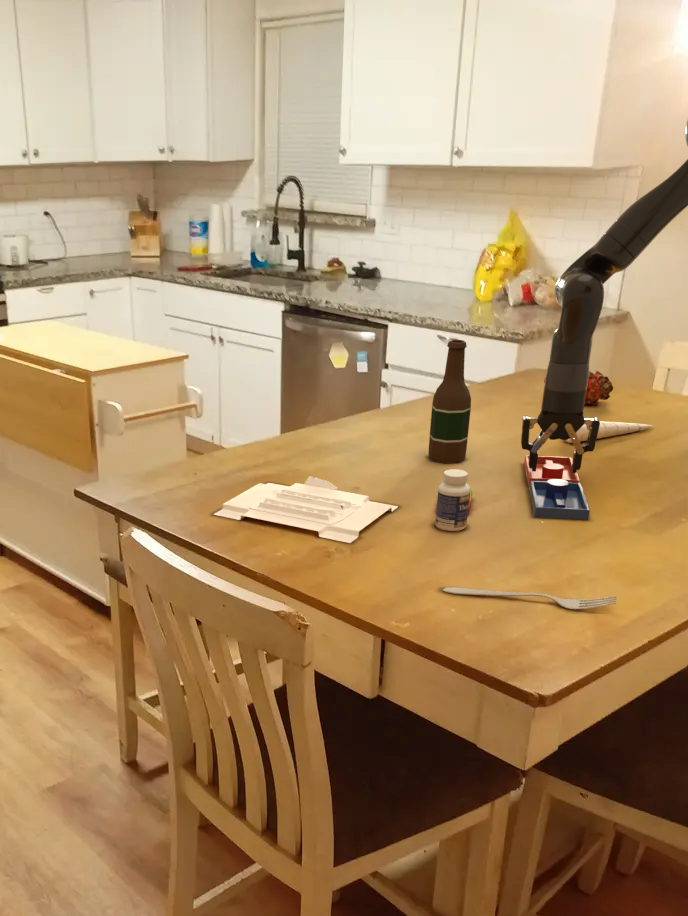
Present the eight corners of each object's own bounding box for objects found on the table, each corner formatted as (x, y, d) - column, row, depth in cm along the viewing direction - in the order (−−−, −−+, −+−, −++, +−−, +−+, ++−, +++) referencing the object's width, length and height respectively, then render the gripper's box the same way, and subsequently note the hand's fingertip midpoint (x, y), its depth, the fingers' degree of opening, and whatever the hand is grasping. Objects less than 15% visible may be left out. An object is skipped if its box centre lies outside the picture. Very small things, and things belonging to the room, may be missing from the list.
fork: (444, 585, 145) (445, 575, 144) (614, 605, 137) (616, 594, 136) (441, 594, 142) (442, 583, 141) (615, 615, 135) (617, 604, 134)
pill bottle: (461, 534, 163) (467, 479, 158) (430, 529, 165) (435, 475, 160) (470, 523, 167) (476, 470, 162) (440, 518, 169) (445, 466, 165)
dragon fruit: (612, 413, 231) (561, 414, 238) (618, 386, 235) (567, 388, 241) (609, 389, 225) (556, 391, 231) (615, 362, 228) (563, 365, 234)
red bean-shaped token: (562, 483, 182) (564, 469, 181) (541, 482, 183) (543, 468, 182) (557, 467, 191) (559, 453, 190) (537, 466, 192) (539, 452, 191)
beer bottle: (463, 465, 195) (475, 345, 184) (424, 462, 198) (434, 344, 186) (467, 454, 201) (479, 337, 190) (430, 451, 204) (440, 336, 193)
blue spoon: (544, 492, 178) (546, 478, 177) (565, 493, 177) (567, 479, 176) (549, 511, 170) (551, 497, 168) (571, 513, 169) (573, 498, 167)
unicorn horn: (663, 432, 211) (668, 411, 208) (573, 446, 204) (576, 424, 202) (648, 427, 215) (652, 406, 212) (559, 440, 208) (562, 418, 206)
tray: (351, 543, 160) (351, 522, 159) (212, 520, 175) (211, 500, 173) (399, 506, 175) (399, 487, 174) (268, 487, 190) (267, 469, 188)
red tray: (570, 466, 193) (571, 457, 192) (578, 489, 180) (579, 480, 179) (524, 464, 195) (525, 455, 194) (528, 487, 182) (529, 478, 181)
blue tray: (579, 492, 179) (580, 482, 178) (588, 520, 167) (589, 510, 166) (529, 490, 181) (530, 480, 180) (534, 517, 168) (536, 507, 168)
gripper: (526, 389, 174) (516, 476, 182) (609, 390, 171) (595, 478, 179) (524, 379, 181) (514, 463, 188) (604, 380, 177) (590, 466, 185)
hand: (553, 470), depth 184 cm, fingers open, 7 cm apart
